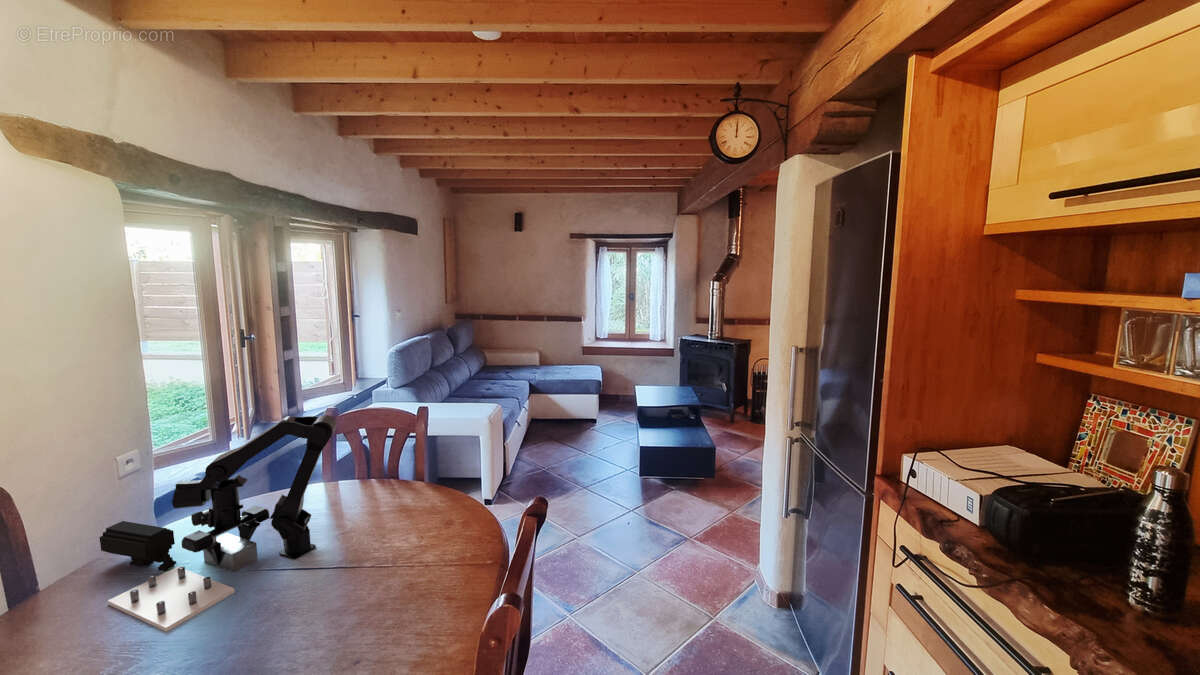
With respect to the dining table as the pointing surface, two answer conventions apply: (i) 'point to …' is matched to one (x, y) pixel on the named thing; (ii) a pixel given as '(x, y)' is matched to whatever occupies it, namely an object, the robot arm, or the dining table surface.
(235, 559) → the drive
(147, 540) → the security camera
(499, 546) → the dining table surface
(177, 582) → the white peg board
